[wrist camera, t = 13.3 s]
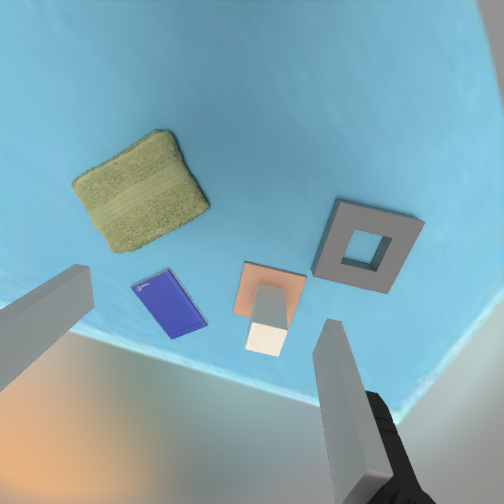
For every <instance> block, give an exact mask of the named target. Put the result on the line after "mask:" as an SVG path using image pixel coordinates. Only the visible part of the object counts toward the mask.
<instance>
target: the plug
mask: <svg viewBox="0 0 504 504" xmlns="http://www.w3.org/2000/svg"><path fill="white" fill-rule="evenodd" d="M287 331H288V327H287V312H286V298H285V288H282V287H277V286H273V285H269V284H265V283H261V282H257V286H256V290H255V294H254V297H253V301H252V305H251V312H250V319H249V325H248V332H247V339H246V345H245V349H247V350H251V351H256V352H260V353H264V354H268V355H273V356H277V357H278V356H279V354H280V351H281V348H282V345H283V342H284V340H285V337H286V334H287Z"/></svg>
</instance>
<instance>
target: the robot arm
mask: <svg viewBox="0 0 504 504" xmlns="http://www.w3.org/2000/svg"><path fill="white" fill-rule="evenodd" d="M93 307H94V302H93V293H92V285H91V276H90V267H89V266H84V265H79V264H74V265H73V266H71V267H70V268H68V269H66V270H65V271H63V272H61V273H60V274H58V275H57V276H55V277H53V278H52V279H50V280H48V281H47V282H45V283H44V284H42V285H40V286H39V287H37V288H35V289H34V290H32V291H31V292H29V293H27V294H26V295H24V296H22V297H21V298H19V299H18V300H16V301H14V302H13V303H11V304H9V305H8V306H6V307H5V308H3V309H1V310H0V392H1V391H2V390H3V389H4V388H5V387H6V386H7V385H9V384H10V383H11V382H12V381H13V380H14V379H15V378H16V377H17V376H18V375H20V374H21V373H22V372H23V371H24V370H25V369H26V368H27V367H28V366H29V365H30V364H32V363H33V362H34V361H35V360H36V359H37V358H38V357H39V356H40V355H41V354H43V353H44V352H45V351H46V350H47V349H48V348H49V347H50V346H51V345H53V344H54V343H55V342H56V341H57V340H58V339H59V338H60V337H61V336H63V335H64V334H65V333H66V332H67V331H68V330H69V329H70V328H71V327H72V326H74V325H75V324H76V323H77V322H78V321H79V320H80V319H81V318H82V317H83V316H85V315H86V314H87V313H88V312H89V311H90V310H91V309H92V308H93ZM312 356H313V363H314V369H315V376H316V382H317V389H318V395H319V402H320V408H321V414H322V421H323V428H324V434H325V441H326V447H327V453H328V459H329V466H330V473H331V480H332V486H333V492H334V498H335V504H436V503H435V502H434V501H433V500H432V499H431V497H430V496H429V495H428V494H427V493H425V492H424V491H422V489H421V487H420V485H419V483H418V481H417V479H416V476H415V474H414V471H413V468H412V466H411V464H410V461H409V459H408V456H407V454H406V451H405V449H404V446H403V444H402V441H401V439H400V437H399V435H398V431H397V429H396V426H395V424H394V423H393V419H392V417H391V414H390V412H389V409H388V407H387V405H386V404H385V403H384V401H383V400H382V398H381V397H380V396H379V394H378V393H374V392H370V391H365V390H364V387H363V384H362V381H361V378H360V375H359V372H358V369H357V366H356V363H355V360H354V357H353V354H352V352H351V349H350V346H349V343H348V340H347V337H346V334H345V331H344V328H343V325H342V322H341V321H337V320H333V319H328V318H327V320H326V322H325V325H324V327H323V330H322V332H321V334H320V337H319V339H318V342H317V344H316V347H315V349H314V351H313V354H312Z"/></svg>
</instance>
